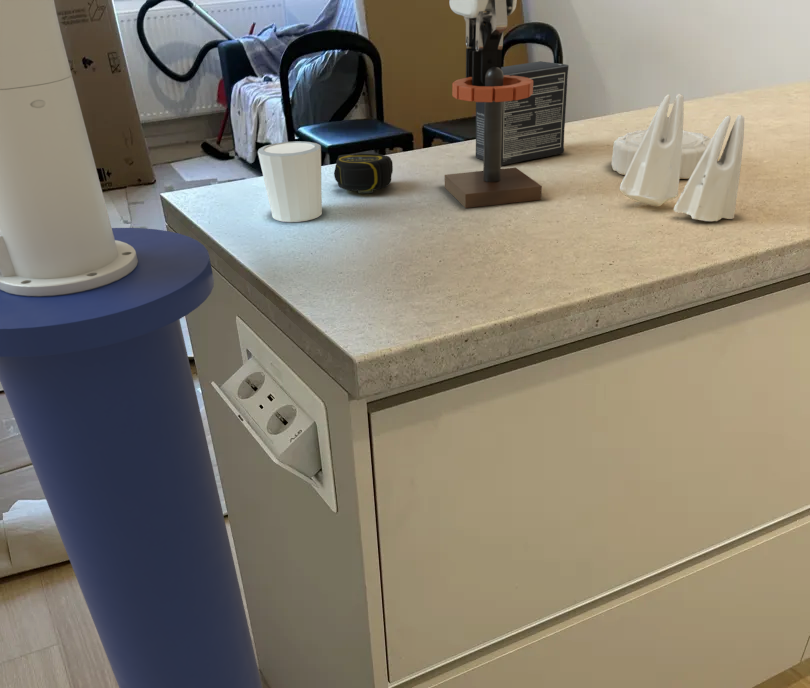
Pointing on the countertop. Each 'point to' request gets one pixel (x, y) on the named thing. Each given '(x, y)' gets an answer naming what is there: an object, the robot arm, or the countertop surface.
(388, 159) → the tape measure
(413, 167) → the countertop surface
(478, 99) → the ring
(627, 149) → the mooncake
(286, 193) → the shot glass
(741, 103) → the countertop surface
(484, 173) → the stand
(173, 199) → the countertop surface
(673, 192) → the shaker set
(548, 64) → the small box
